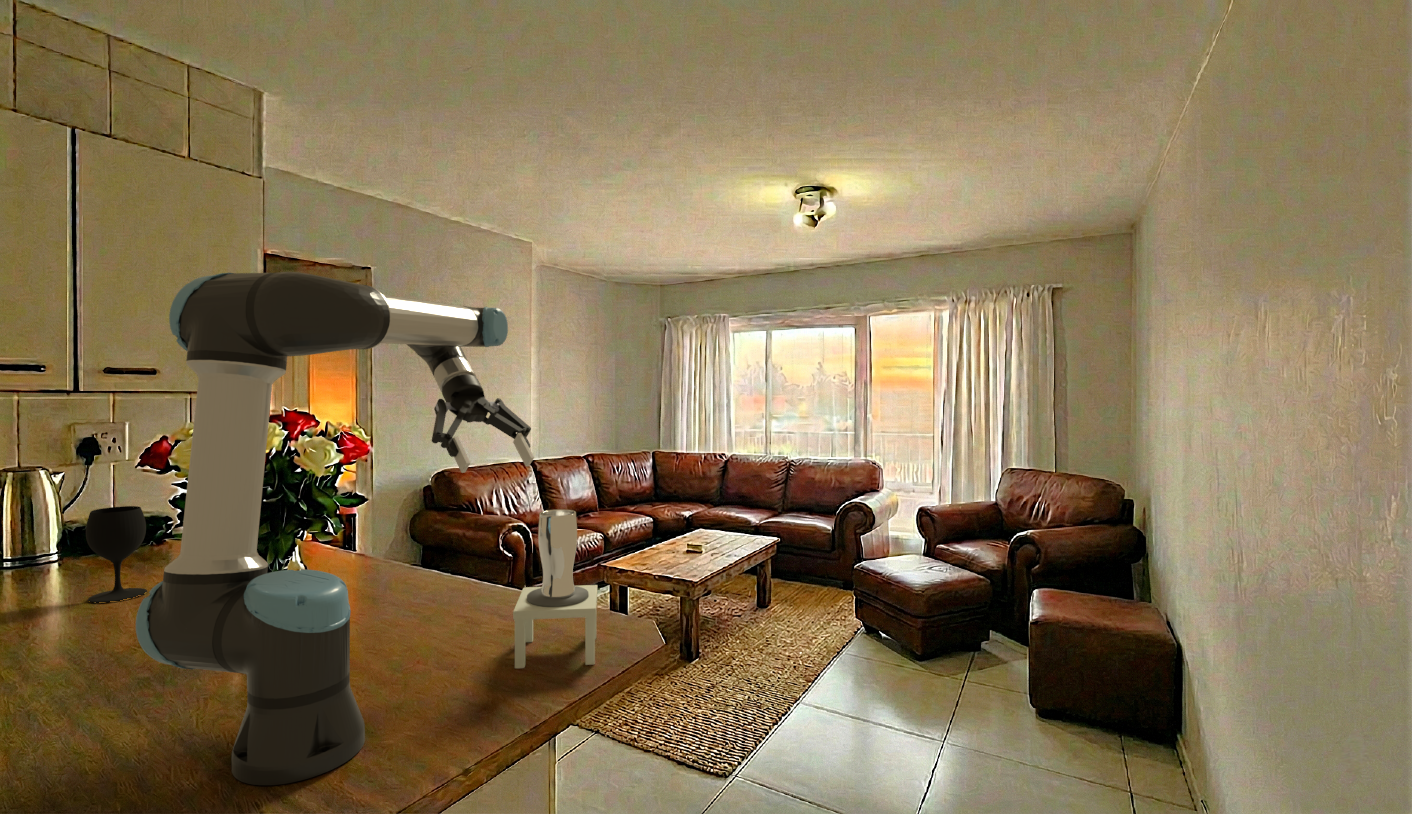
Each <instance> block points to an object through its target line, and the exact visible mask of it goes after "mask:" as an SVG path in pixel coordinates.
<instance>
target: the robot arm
mask: <svg viewBox="0 0 1412 814" xmlns="http://www.w3.org/2000/svg"><path fill="white" fill-rule="evenodd" d="M168 316H169V319H168V320H169V321H168V322H169V328H170V331H171V334H172V335H173V336H175V337H176V338H177V339H176V340H175V342H177V344H178V345H179V346H180V347H181V348H182V349H183V350H185V351H186V352H187V353H186V360H185V362H186V363H185V365H186V366H187V367H188V368H189V369H190V370H191V371H192V372H193V373H195V374H196V376H197V379H198V381H197V388H196V389H197V391H196V398H195V407H194V417H193V419H194V420H193V426H192V427H193V429H192V437H191V447H190V456H189V457H190V458H189V466H188V475H187V485H186V496H185V505H184V514H183V523H182V535H181V543H180V552H179V555H177V557H176V558H175V559H173V560H172V561H171V562H169V563H168V564H167V565H166V566H165V567H164V570H163V575H162V576H163V579H162V581H160V582H158V583H157V584H156V585H154V586H152V588H151V589H150V590H149V592H148V593H149V595H148V596H146V597H144V598H143V599H142V600H141V602H140V605H139V607H138V610H137V612H136V618H135V633H136V637H137V641H138V644H139V645H140V647H141V649H142V650H143V651H144V653H145V654H147V656H149V657H150V658H151V659H153V660H154V661H156V662H159V663H160V664H164V665H170V666H173V667H175V668H179V669H182V670H183V669H185V670H205V671H215V672H216V671H217V672H222V673H223V672H227V673H232V674H233V673H235V674H243V675H246V693H247V694H246V695H247V696H246V697H247V700H246V702H247V704H246V706H247V707H246V709H245V711H244V715H243V718H242V720H241V723H240V725H239V726H240V727H239V729H238V732H237V735H236V738H235V741H234V744H233V748H232V750H231V755H230V756H231V774H232V775H233V777H234V778H235V779H236V780H237V781H240V782H241V783H244V784H248V785H252V786H253V785H254V786H276V785H277V786H278V785H285V784H290V783H296V782H300V781H305V780H307V779H312V778H314V777H318V776H319V775H323V774H325V773H327V772H329V771H332V770H334V769H337V768H339V767H340V766H341V765H344V764H345V763H347V762H348V761H350V760H351V759H352V758H353V757H354V756H356V755H357V754H358V753H359V752H360V751H361V749H362V748H363V747H364V744H365V741H366V738H365V737H366V730H365V728H366V727H365V726H366V725H365V720H364V718H363V715H362V713H361V710H360V708H359V706H358V702H357V701H356V698H355V695H354V693H353V691H352V688H351V681H350V679H351V678H350V675H351V672H350V669H351V668H350V665H351V664H350V663H351V662H350V661H351V659H350V657H351V656H350V655H351V654H350V653H351V651H350V649H351V647H350V646H351V645H350V644H351V643H350V642H351V640H350V638H351V637H350V636H351V634H350V633H351V628H350V627H351V625H350V624H351V621H350V620H351V613H352V611H351V606H350V603H349V602H350V601H349V591H348V586H347V584H346V583H345V581H343V579H342V578H340V577H339V576H337V575H335V574H333V573H330V572H325V571H321V570H315V569H300V570H299V569H298V570H294V569H285V570H284V569H283V570H282V569H281V570H278V571H277V570H276V571H272V572H271V571H270V572H268V568H269V563H268V562H267V561H266V560H265V559H264V558H263V557H262V556H260V555H259V553H258V550H257V549H258V541H259V540H258V538H259V530H260V529H259V528H260V521H261V520H260V519H261V506H262V498H263V486H264V478H265V477H264V476H265V467H266V466H265V464H266V463H265V462H266V455H267V453H266V452H267V446H268V445H267V444H268V436H269V435H268V433H269V425H270V424H269V423H270V422H269V421H270V412H271V402H272V393H273V392H272V390H273V385H274V383H275V382H276V381H277V380H279V379H280V378H282V377H283V376H284V375H286V372H287V363H288V357H296V356H297V357H298V356H299V357H301V356H302V357H303V356H309V355H310V356H311V355H319V354H326V353H334V352H341V351H350V350H370V349H373V348H375V347H377V346H379V345H380V344H385V345H386V344H387V345H388V344H391V345H393V344H395V345H396V344H397V345H406V346H408V347H409V348H410V349H411V350H412V351H413V352H415V354H416V355H418V356H419V357H420V358H421V360H423V361H424V362H425V363H426V364H427V366H428V367H429V370H430V372H431V374H432V376H433V378H434V380H435V382H436V383H437V387H438V388H439V390H440V392H441V395H442V397H443V398H439V399H438V400H437V402H436V404H435V406H434V413H435V418H434V419H435V420H434V425H433V431H432V436H431V442H432V443H433V444H438V443H441V444H440V447H441V448H443V449H446V451H447V453H448V455H449V456H450V457H452V458H454V460H455V462H456V464H457V467H458V469H459V471H460V473H462V474H463V473H466V472H467V470H468V468H469V466H470V465H471V461H470V459H469V457H468V455H467V453H466V450H465V449H464V446H463V444H462V442H461V440H460V438H459V436H458V435H457V436H454V435H455V433H456V432H457V430H458V429H459V427H460V425H461V423H462V421H464V422H466V423H474V422H476V423H484V424H485V425H490V426H492V427H494V428H495V429H498V430H499V431H500V432H502V433H503V434H505V435H507V436H509V438H511V439H513V441H512V443H513V445H514V447H515V449H516V450H517V452H518V455H519V457H520V458H521V460H522V462H523V464H524V466H525V467H530V465H531V463H532V462H533V460H534V459H535V456H534V454H533V452H532V450H531V449H530V448H531V444H530V442H529V439H528V436H529V434H530V432H531V430H532V427H530V426H529V425H528V424H527V423H526V422H525V421H524V420H522V418H520V417H519V416H518V415H517V414H515V413H514V411H512V410H511V408H509V407H507V406H506V404H505V403H504V401H503V400H502V399H501V398H500V397H499V398H496V399H495V401H489V400H488V399H487V398H486V396H485V391H484V389H483V386H482V385H481V383H480V380H479V379H478V378H477V375H476V373H475V370H474V369H473V367H472V366H471V364H470V362H469V361H468V359H467V356H466V355H465V353H464V351H463V349H462V347H463V348H464V347H469V348H471V347H473V348H474V347H476V348H482V347H483V348H489V347H499V346H501V345H503V344H504V342H505V341H507V337H508V332H509V326H508V320H507V316H506V314H505V312H503V310H502V309H500V308H499V307H488V306H484V307H472V306H468V305H466V306H464V305H458V304H452V303H446V302H444V303H443V302H439V301H438V302H437V301H430V300H424V299H418V298H417V299H416V298H409V297H404V296H403V297H402V296H394V295H388V294H382V292H381V291H379V289H377V288H376V287H374V286H370V285H367V284H360V283H355V282H350V281H346V280H342V279H341V280H340V279H335V278H331V277H328V276H327V277H326V276H322V275H316V274H312V273H306V272H299V271H298V272H297V271H281V272H280V271H279V272H240V273H239V272H235V273H234V272H224V273H223V272H221V273H216V274H212V275H204V276H200V277H198V278H194V279H193V280H191V281H190V282H188V283H186V284H185V285H184V286H182V287H181V288H180V290H178V292H177V294H176V295H175V296H174V299H173V300H172V302H171V305H170V309H169V314H168ZM448 411H450V412H451V413H452V414H453V415H455V418H454V420H453V421H452V423H451V425H450V427H449V428H448V430H447V432H446V433H445V432H444V426H445V420H446V417H447V412H448ZM488 414H489V416H488ZM487 416H488V417H487Z"/></svg>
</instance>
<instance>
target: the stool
mask: <svg viewBox="0 0 1412 814" xmlns="http://www.w3.org/2000/svg"><path fill="white" fill-rule="evenodd" d="M574 588H575V594H574V595H572V596H570V597H567V598H561V599H549V598H544V597H542V596H541V590H542V586H535V587H534V586H529V587H528V586H527V587H523V588H522V590H521V592H520V595H519V597H518V600H517V602H516V605H515V607H514V609H513V611H512V615H513V616H512V617H513V618H512V619H513V621H514V669H525V667H526V643H533V641H534V620H552V619H555V620H556V619H574V618H575V619H576V618H577V619H578V618H585V619H584V621H585V625H584V626H585V628H584V629H585V632H584V633H585V636H584V637H585V642H584V643H585V647H584V648H585V652H584V653H585V654H584V655H585V657H584V661H585V662H584V663H585V665H586V666H588V665H589V666H591V665H595V664H596V663H595V662H596V640H597V603H598V584H590V585H589V584H588V585H586V584H585V585H574Z"/></svg>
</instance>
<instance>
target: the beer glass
mask: <svg viewBox="0 0 1412 814" xmlns="http://www.w3.org/2000/svg"><path fill="white" fill-rule="evenodd" d="M537 536H538V537H537V539H538V540H537V541H538V549H539V550H538V551H539V556H540V561H541V567H542V576H543V577H542V585H541V587H542V590H541V596H542V597H544V598H549V599H561V598H567V597H570V596H572V595H574V594H575V588H574V586H575V584H574V577H573V575H574V574H573V573H574V570H573V569H574V564H575V557H576V553H577V545H578V524H577V512H576V511H575V510H573V509H561V508H560V509H547V510H543V511H540V512H539V518H538V533H537Z"/></svg>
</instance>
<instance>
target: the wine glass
mask: <svg viewBox="0 0 1412 814" xmlns="http://www.w3.org/2000/svg"><path fill="white" fill-rule="evenodd" d="M146 531H147V523H146V518H145V515H144V512H143V509H142V508H141V506H137V505H134V506H133V505H128V506H127V505H126V506H124V505H123V506H122V505H121V506H113V507H112V506H111V507H104V508H98V509H93V510H91V511H90V512H89V514H88V517H87V520H86V525H85V537H86V538H85V539H86V543H87V545H88V546H89V548H90V549H91V550H92V552H94V553H95V554H96V555H98V556H99V557H101V558H103V559H104V560H108V561H110V562H111V563H112V565H113V570H114V587H113V589H112V590H107V591H104V592H99V593H97V594H96V593H95V594H94V595H91V596H90V597H88V599H87V602H88V601H90V602H96V603H99V602H110V601H120V600H123V599H127V598H133V597H136V596H138V595H143V594H144V593H145V592H147V593H148V590H147V589H145V588H141V587H127V588H123V585H122V581H121V579H122V578H121V571H122V570H121V568H122V562H123V561H124V560H125V559H126V558H128V557H129V556H131V555H132V554H133V553H134V552H136V550H138V548H139V547H141V545H142V543H143V542H144V539H145V537H146V533H147V532H146ZM143 596H144V595H143ZM90 602H89V603H90ZM120 602H121V601H120ZM96 603H95V604H96Z"/></svg>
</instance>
